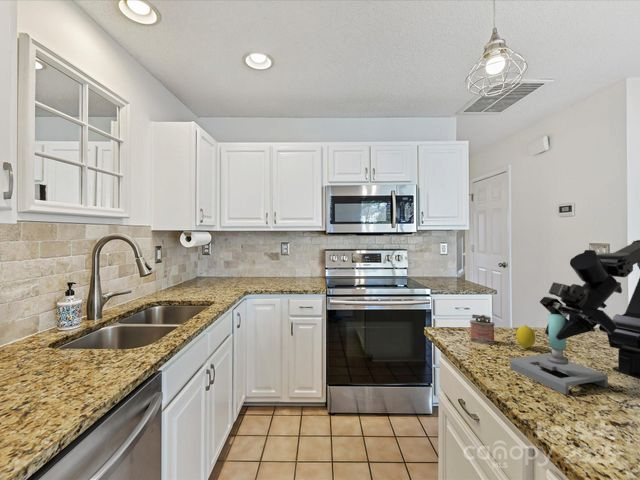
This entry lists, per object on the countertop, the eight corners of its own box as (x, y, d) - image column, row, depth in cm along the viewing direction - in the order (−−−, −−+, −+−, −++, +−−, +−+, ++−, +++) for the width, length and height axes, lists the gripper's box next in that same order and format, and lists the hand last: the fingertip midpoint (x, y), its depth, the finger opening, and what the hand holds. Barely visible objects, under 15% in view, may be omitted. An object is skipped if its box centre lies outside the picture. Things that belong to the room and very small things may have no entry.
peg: (555, 357, 85) (555, 313, 85) (572, 363, 80) (571, 316, 80) (543, 359, 84) (542, 314, 84) (559, 365, 79) (558, 318, 79)
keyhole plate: (547, 363, 95) (547, 353, 95) (607, 386, 80) (607, 375, 80) (510, 368, 92) (510, 358, 92) (565, 394, 76) (565, 382, 76)
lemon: (517, 344, 112) (517, 322, 112) (536, 347, 108) (535, 324, 108) (515, 349, 108) (514, 325, 108) (534, 352, 104) (534, 328, 104)
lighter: (495, 342, 115) (494, 315, 115) (494, 345, 112) (493, 317, 112) (470, 339, 119) (470, 312, 119) (469, 341, 116) (469, 314, 116)
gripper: (545, 268, 91) (508, 307, 91) (603, 276, 73) (556, 324, 73) (573, 295, 91) (536, 333, 91) (637, 309, 73) (591, 358, 73)
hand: (551, 336), depth 82 cm, fingers closed on peg, 4 cm apart
